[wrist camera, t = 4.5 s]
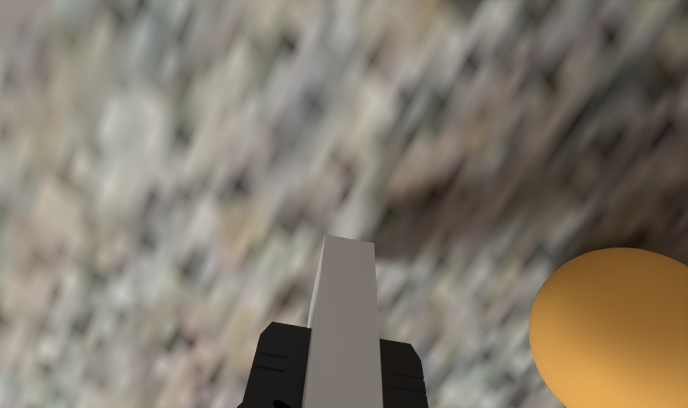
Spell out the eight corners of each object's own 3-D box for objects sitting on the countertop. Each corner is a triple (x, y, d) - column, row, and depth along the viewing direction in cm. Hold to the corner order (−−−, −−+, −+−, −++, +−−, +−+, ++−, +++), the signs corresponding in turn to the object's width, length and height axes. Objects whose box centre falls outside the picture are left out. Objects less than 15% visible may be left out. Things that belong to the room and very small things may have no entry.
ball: (735, 362, 10) (527, 228, 14) (621, 516, 13) (472, 366, 17) (821, 303, 13) (628, 205, 17) (714, 438, 16) (568, 325, 19)
